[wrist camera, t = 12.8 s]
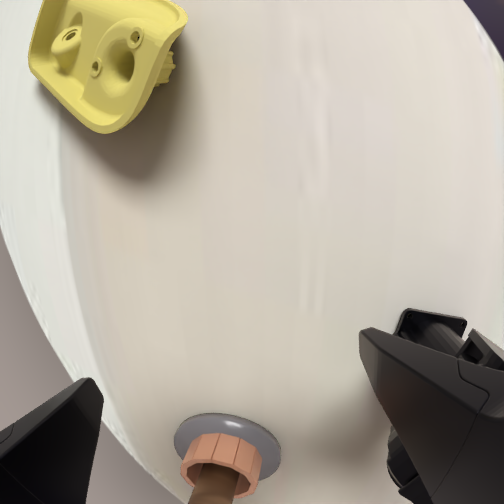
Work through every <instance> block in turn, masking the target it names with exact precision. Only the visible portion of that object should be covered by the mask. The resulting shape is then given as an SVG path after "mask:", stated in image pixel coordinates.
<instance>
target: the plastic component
mask: <svg viewBox="0 0 504 504" xmlns="http://www.w3.org/2000/svg"><path fill="white" fill-rule="evenodd" d="M187 21H188V16H187V14H186V12H185V11H184V10H183V9H182V8H181V7H179V6H178V5H176V4H174V3H173V2H171V1H169V0H43V2H42V5H41V8H40V11H39V14H38V17H37V20H36V24H35V27H34V31H33V35H32V38H31V42H30V46H29V53H28V64H29V68H30V71H31V72H32V74H33V75H34V76H35V77H36V78H37V79H38V80H39V81H40V82H41V83H42V84H43V85H44V86H45V87H46V88H47V89H48V90H49V91H50V92H51V93H52V94H53V95H54V96H55V97H56V98H57V99H58V100H59V101H60V102H61V103H62V104H63V105H64V106H65V107H66V108H67V109H68V110H69V111H70V112H71V113H72V114H73V115H74V116H75V117H76V118H77V119H78V120H79V121H80V122H81V123H83V124H84V125H85V126H86V127H88V128H89V129H91V130H93V131H95V132H97V133H102V134H108V133H112V132H115V131H118V130H120V129H122V128H123V127H125V126H126V125H127V124H129V123H130V122H131V121H132V120H133V119H134V118H135V117H136V116H137V115H138V114H139V113H140V111H141V110H142V109H143V107H144V106H145V104H146V102H147V100H148V98H149V97H150V95H151V92H152V90H153V88H154V87H158V86H159V84H160V83H168V82H169V79H168V78H169V76H170V74H171V71H172V69H175V67H176V65H175V64H173V60H172V56H173V52H172V51H169V49H170V47H171V45H172V43H173V42H174V40H175V39H176V38H177V37H178V36H179V35H180V34H181V32H182V30H183V28H184V27H185V25H186V23H187ZM139 35H140V38H139V40H138V36H139ZM72 37H73V38H72Z"/></svg>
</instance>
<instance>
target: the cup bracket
mask: <svg viewBox="0 0 504 504" xmlns="http://www.w3.org/2000/svg"><path fill="white" fill-rule="evenodd" d="M174 446H175V449H176V451H177V453H178V455H179V456H180V457H181V459H182V460H183V462H182V464H181V476H182V477H183V478H184V479H185V480H186V481H187V483H188V484H189V485H190V486H192V487H195V485H196V482H197V479H198V477H199V474H200V472H201V469H202V466H203V464H204V463H215V464H218V465H222V466H226V467H231V468H232V469H234V470H236V471H238V472H240V474H239V478H238V482H237V486H236V490H235V494H234V498H242V497H245V496H248V495H250V494H253V493H254V491H255V489H256V487H257V485H258V481H259V480H262V479H265V478H267V477H269V476H270V475H272V474H273V473H274V472H275V471H276V470H277V469H278V467H279V464H280V458H281V448H280V445H279V443H278V441H277V440H276V438H275V437H274V436H273V435H272V434H271V433H270V432H269V431H267V430H266V429H265V428H263V427H262V426H260V425H258V424H256V423H254V422H252V421H250V420H247V419H244V418H241V417H237V416H233V415H228V414H221V413H206V414H199V415H196V416H193V417H190V418H188V419H187V420H185V421H184V422H183V423H182V424H181V425H180V426H179V428H178V430H177V432H176V434H175V437H174Z"/></svg>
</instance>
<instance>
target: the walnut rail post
mask: <svg viewBox="0 0 504 504" xmlns="http://www.w3.org/2000/svg"><path fill="white" fill-rule="evenodd" d="M239 474H240V472H238V471H236V470H234V469H232V468H231V467H226V466H222V465H218V464H215V463H204V464H203V466H202V469H201V472H200V474H199V477H198V479H197V482H196V485H195V487H194V490H193V492H192V495H191V498H190V500H189V503H188V504H232V501H233V498H234V494H235V490H236V486H237V482H238V478H239Z"/></svg>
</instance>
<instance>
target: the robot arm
mask: <svg viewBox="0 0 504 504" xmlns="http://www.w3.org/2000/svg"><path fill="white" fill-rule="evenodd" d="M409 313H411V315H410V317H407V315H408V314H409ZM462 322H463V324H462V325H461V326H460V324H461V323H462ZM466 326H467V321H466V320H465V319H464V318H462V317H456V316H450V315H444V314H439V313H433V312H428V311H422V310H417V309H411V308H408V309H406V310H404V312H403V314H402V316H401V319H400V322H399V325H398V327H397V330H396V332H395V333H394V334H393V335H391V334H389V333H386V332H383V331H381V330H378V329H375V328H372V327H370V328H367V329H364V330H361V331H360V332H359V353H360V358H361V360H362V363H363V365H364V367H365V370H366V372H367V375H368V377H369V379H370V382H371V384H372V387H373V389H374V392H375V394H376V396H377V398H378V400H379V402H380V404H381V405H382V407H383V409H384V411H385V412H386V414H387V416H388V418H389V420H390V421H391V423H392V425H393V426H392V427H391V433H390V436H389V440H388V449H389V452H388V459H387V468H388V472H389V474H390V476H391V478H392V480H393V481H394V483H395V484H396V485H397V486H398V487H399V488H400V489H399V490H398V492H399V494H400V495H402V496H403V497H405V498H407V499H408V500H410V501H411V502H412V503H413V504H504V350H502V349H501V348H500V347H498V346H497V345H496V344H494V343H493V342H491V341H490V340H489V339H487V338H486V337H485V336H483V335H482V334H480V333H479V332H478V331H476V330H475V329H472V330H471V332H470V333H469V335H468V336H469V337H468V339H467V340H466V341H464V340H463V339H462V336H463V333H464V331H465V328H466ZM103 403H104V398H103V395H102V393H101V391H100V390H99V388H98V386H97V385H96V383H95V381H94V380H93V379H92V378H81V379H79V380H78V381H76V382H75V383H73V384H72V385H70V386H69V387H67V388H66V389H64V390H63V391H61V392H60V393H58V394H57V395H55V396H54V397H52V398H51V399H49V400H48V401H46V402H45V403H43V404H42V405H40V406H39V407H37V408H36V409H34V410H33V411H31V412H30V413H28V414H27V415H25V416H24V417H22V418H21V419H19V420H17V421H16V422H15V423H13V424H11V425H10V426H8V427H7V428H5V429H4V430H2V431H0V504H86V497H87V492H88V486H89V480H90V475H91V470H92V465H93V460H94V455H95V451H96V446H97V442H98V437H99V431H100V424H101V416H102V409H103Z"/></svg>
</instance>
